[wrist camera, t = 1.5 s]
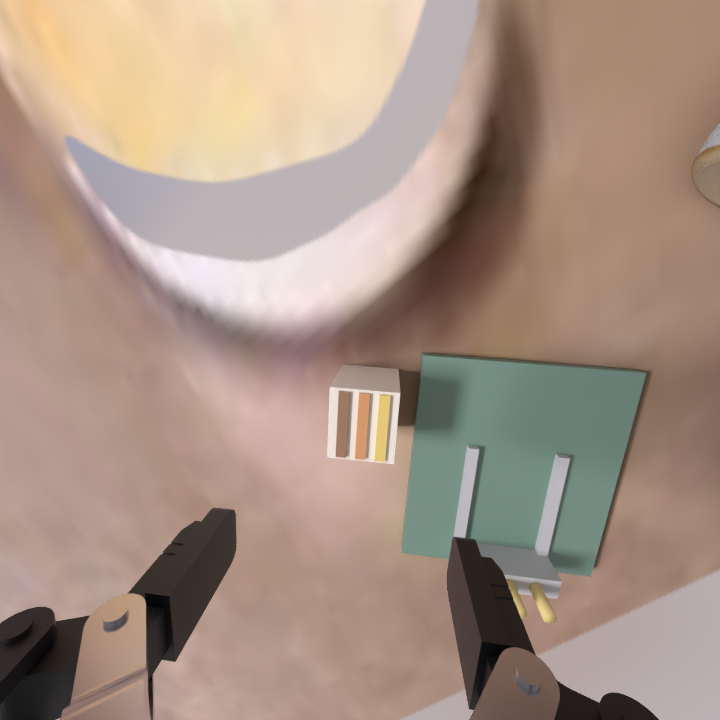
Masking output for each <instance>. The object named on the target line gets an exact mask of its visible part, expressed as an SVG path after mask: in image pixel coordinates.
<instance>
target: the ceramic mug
mask: <svg viewBox="0 0 720 720" xmlns="http://www.w3.org/2000/svg"><path fill="white" fill-rule="evenodd" d="M691 174H692V179H693V183H694V185H695V187H696V189H697V190H698V191H699V192H700V193H701V194H702V195H703V196H704V197H705V198H707V199H708V200H709V201H711V202H713V203H715V204H717V205H719V206H720V123H719V124H718V125H717V126H716V127H715V129H714V130H713V131H712V133H711V134H710V136H709V137H708V138H707V140H706V141H705V142H704V144H703V146H702V148H701V150H700V151H699V153H698V154H697V157H696V159H695V161H694V163H693V166H692V169H691Z"/></svg>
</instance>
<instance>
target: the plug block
mask: <svg viewBox="0 0 720 720" xmlns="http://www.w3.org/2000/svg"><path fill="white" fill-rule="evenodd" d="M399 402H400V382H399V369H393V368H381V367H369V366H357V365H344V364H343V366H342V367H341V369H340V371H339V372H338V374H337V376H336V378H335V379H334V381H333V383H332V384H331V386H330V399H329V423H328V447H327V457H330V458H340V459H350V460H359V461H369V462H378V463H388V464H394V455H395V445H396V434H397V424H398V413H399Z"/></svg>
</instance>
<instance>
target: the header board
mask: <svg viewBox="0 0 720 720" xmlns="http://www.w3.org/2000/svg"><path fill="white" fill-rule="evenodd" d="M646 374H647V373H645V372H642V371H639V370H635V369H623V368H610V367H597V366H585V365H572V364H559V363H547V362H534V361H521V360H509V359H496V358H483V357H471V356H458V355H445V354H433V353H422V361H421V371H420V380H419V389H418V398H417V408H416V417H415V426H414V435H413V445H412V454H411V463H410V472H409V482H408V491H407V500H406V509H405V519H404V528H403V537H402V553H406V554H414V555H422V556H430V557H438V558H446V559H449V557H450V550H451V543H452V538H453V537H461V538H470V539H475V540H476V542H477V545H478V548H479V551H480V554H481V556H482V557H490V558H492V559H493V560H494V561H495V562H496V564H497V565H498V566H499V567H500V568H501V570H502V571H503V573H504V576H505V578H506V581H507V583H508V586H509V589H510V591H511V594H512V596H513V600H514V602H515V604H516V606H517V609H518V612H519V614H520V617H521V619H523V618H525V617H526V616H527V612H526V610H525V607H524V605H523V602H522V600H521V597H520V595H519V594H525V595H532V596H533V598H534V600H535V602H536V604H537V607H538V609H539V611H540V613H541V616H542V618H543V620H544V621H545V622H547V623H553V622H555V621H556V618H557V617H556V615H555V613H554V611H553V609H552V607H551V605H550V603H549V601H548V598H556V599H558V595H559V591H560V587H561V583H562V581H561V580H560V578H559V576H558V574H557V572H558V573H566V574H574V575H582V576H590V577H591V574H592V571H593V567H594V563H595V560H596V556H597V553H598V549H599V545H600V542H601V538H602V534H603V531H604V527H605V523H606V520H607V516H608V512H609V509H610V505H611V501H612V498H613V494H614V491H615V487H616V483H617V480H618V476H619V472H620V469H621V465H622V461H623V458H624V454H625V450H626V447H627V443H628V439H629V436H630V432H631V429H632V425H633V421H634V418H635V414H636V410H637V407H638V403H639V399H640V396H641V392H642V388H643V385H644V381H645V377H646ZM547 597H548V598H547Z"/></svg>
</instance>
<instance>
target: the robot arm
mask: <svg viewBox="0 0 720 720" xmlns="http://www.w3.org/2000/svg"><path fill="white" fill-rule="evenodd" d="M235 551H236V515H235V511H234V510H230V509H222V508H212V509H211V510H210V512H209V513H208V514H207V515H206V517H205V518H204V519H203V520H202V522H201V521H195V522H193V523H192V524H190V525H189V526H187V527H186V528H184V529H183V530H181V532H180V533H179V534H178V535H177V536H176V537H175V539H174V540H173V541H172V542H171V545H169V546H168V547H167V548H166V549H165V550H164V551H163V554H162V555H160V556H159V557H158V559H157V560H156V561H155V562H154V563H153V564H152V566H151V567H150V568H149V569H148V570H147V571H146V573H145V574H144V575H143V576H142V577H141V578H140V580H139V581H138V582H137V583H136V584H135V586H134V587H133V588H132V589H131V590H130V591H129V593H128V594H123V595H120V596H117V597H114V598H112V599H110V600H108V601H107V602H105V603H104V604H102V605H101V606H100V607H98V608H97V609H96V610H95V611H94V612H93V613H92V614H91V615H90V616H85V617H79V618H73V619H67V620H62V621H55V615H54V612H53V611H52V610H51V609H50V608H47V607H35V608H31V609H27V610H24V611H22V612H19V613H17V614H15V615H13V616H11V617H9V618H8V619H6V620H5V621H3V622H2V623H0V720H56V719H58V718H60V720H155V709H154V675H153V673H154V671H155V670H156V668H157V666H158V665H159V663H160V662H161V660H168V661H174V662H175V661H176V660H177V658H178V656H179V654H180V653H181V651H182V649H183V647H184V646H185V644H186V642H187V640H188V639H189V637H190V635H191V633H192V632H193V630H194V628H195V626H196V625H197V623H198V621H199V619H200V618H201V616H202V614H203V612H204V611H205V609H206V607H207V605H208V604H209V602H210V600H211V598H212V597H213V595H214V593H215V591H216V590H217V588H218V586H219V584H220V583H221V581H222V579H223V577H224V576H225V574H226V572H227V570H228V569H229V567H230V565H231V563H232V561H233V558H234V555H235ZM447 590H448V597H449V602H450V608H451V613H452V618H453V624H454V629H455V635H456V640H457V646H458V651H459V657H460V662H461V667H462V673H463V678H464V684H465V689H466V695H467V700H468V706H469V709H472V710H474V711H473V714H472V716H471V718H470V719H469V720H659V719H658V718H657V717H656V716H655V715H654V714H653V713H652V712H651V711H649V710H648V709H647V708H646V707H645V706H643V705H642V704H640V703H639V702H637V701H636V700H634V699H632V698H630V697H628V696H626V695H623V694H620V693H608V694H606V695H604V696H603V697H602V699H601V701H600V703H598V702H596V701H594V700H592V699H590V698H588V697H586V696H584V695H581V694H580V693H577V692H575V691H573V690H571V689H569V688H567V687H566V686H564V685H563V684H561V683H560V682H558V681H557V680H556V679H555V677H554V675H553V673H552V672H551V670H550V669H549V668H548V667H547V665H546V664H545V663H544V662H543V661H542V660H541V659H540V658H538V657H537V656H536V655H535V652H534V650H533V648H532V645H531V642H530V640H529V637H528V635H527V632H526V630H525V627H524V624H523V622H522V619H521V617H520V614H519V612H518V609H517V606H516V604H515V602H514V600H513V596H512V594H511V591H510V589H509V586H508V583H507V581H506V578H505V576H504V573H503V571H502V570H501V568H500V567H499V566H498V565H497V564H496V562H495V561H494V560H493V559H492V558H490V557H482V556H481V554H480V551H479V548H478V545H477V542H476V540H475V539H470V538H461V537H453V538H452V543H451V550H450V557H449V563H448V570H447Z"/></svg>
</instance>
